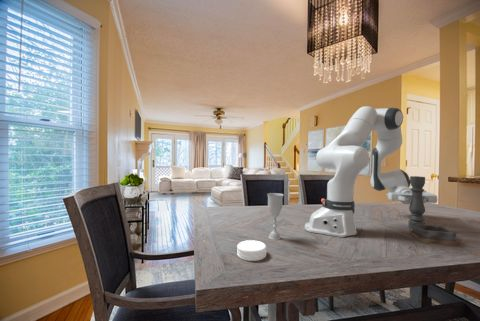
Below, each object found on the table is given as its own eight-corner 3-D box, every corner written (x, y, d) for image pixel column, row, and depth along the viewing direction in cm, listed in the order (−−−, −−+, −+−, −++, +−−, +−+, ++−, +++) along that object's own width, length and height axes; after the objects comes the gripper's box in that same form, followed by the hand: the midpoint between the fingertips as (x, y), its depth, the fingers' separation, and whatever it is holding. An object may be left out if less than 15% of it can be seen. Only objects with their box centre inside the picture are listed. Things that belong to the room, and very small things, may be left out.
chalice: (262, 236, 95) (263, 193, 95) (276, 233, 98) (276, 192, 98) (273, 241, 88) (273, 196, 88) (286, 239, 91) (287, 195, 91)
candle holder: (428, 231, 104) (429, 177, 104) (412, 230, 105) (413, 177, 105) (420, 227, 110) (421, 176, 110) (405, 226, 111) (406, 176, 111)
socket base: (422, 242, 89) (422, 231, 89) (409, 233, 101) (410, 223, 101) (460, 246, 86) (460, 234, 86) (442, 236, 97) (442, 225, 97)
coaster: (240, 248, 82) (240, 238, 82) (267, 250, 80) (267, 241, 80) (233, 260, 73) (233, 249, 73) (264, 263, 70) (264, 252, 70)
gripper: (383, 188, 123) (392, 192, 110) (428, 190, 117) (443, 194, 104) (383, 200, 123) (392, 204, 110) (428, 202, 117) (443, 208, 104)
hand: (417, 199), depth 107 cm, fingers open, 8 cm apart
